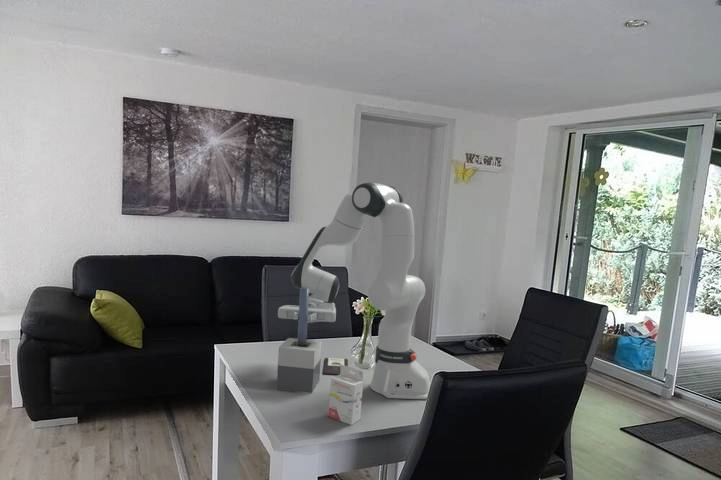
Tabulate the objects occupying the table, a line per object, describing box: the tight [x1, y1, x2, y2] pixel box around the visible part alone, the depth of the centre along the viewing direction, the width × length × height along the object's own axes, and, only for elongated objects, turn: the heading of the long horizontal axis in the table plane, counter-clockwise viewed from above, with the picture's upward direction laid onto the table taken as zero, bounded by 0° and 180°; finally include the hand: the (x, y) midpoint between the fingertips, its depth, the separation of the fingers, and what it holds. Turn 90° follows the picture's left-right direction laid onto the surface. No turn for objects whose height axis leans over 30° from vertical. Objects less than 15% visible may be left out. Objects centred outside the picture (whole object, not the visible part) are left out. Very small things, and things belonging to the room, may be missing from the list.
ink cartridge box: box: [327, 365, 364, 426], centre depth 141 cm, size 9×5×15 cm, turn 58°
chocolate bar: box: [322, 357, 349, 376], centre depth 187 cm, size 9×1×18 cm
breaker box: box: [275, 337, 323, 394], centre depth 165 cm, size 12×12×14 cm
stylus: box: [297, 287, 310, 347], centre depth 164 cm, size 3×3×20 cm
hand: (302, 318), depth 163 cm, fingers closed on stylus, 3 cm apart
